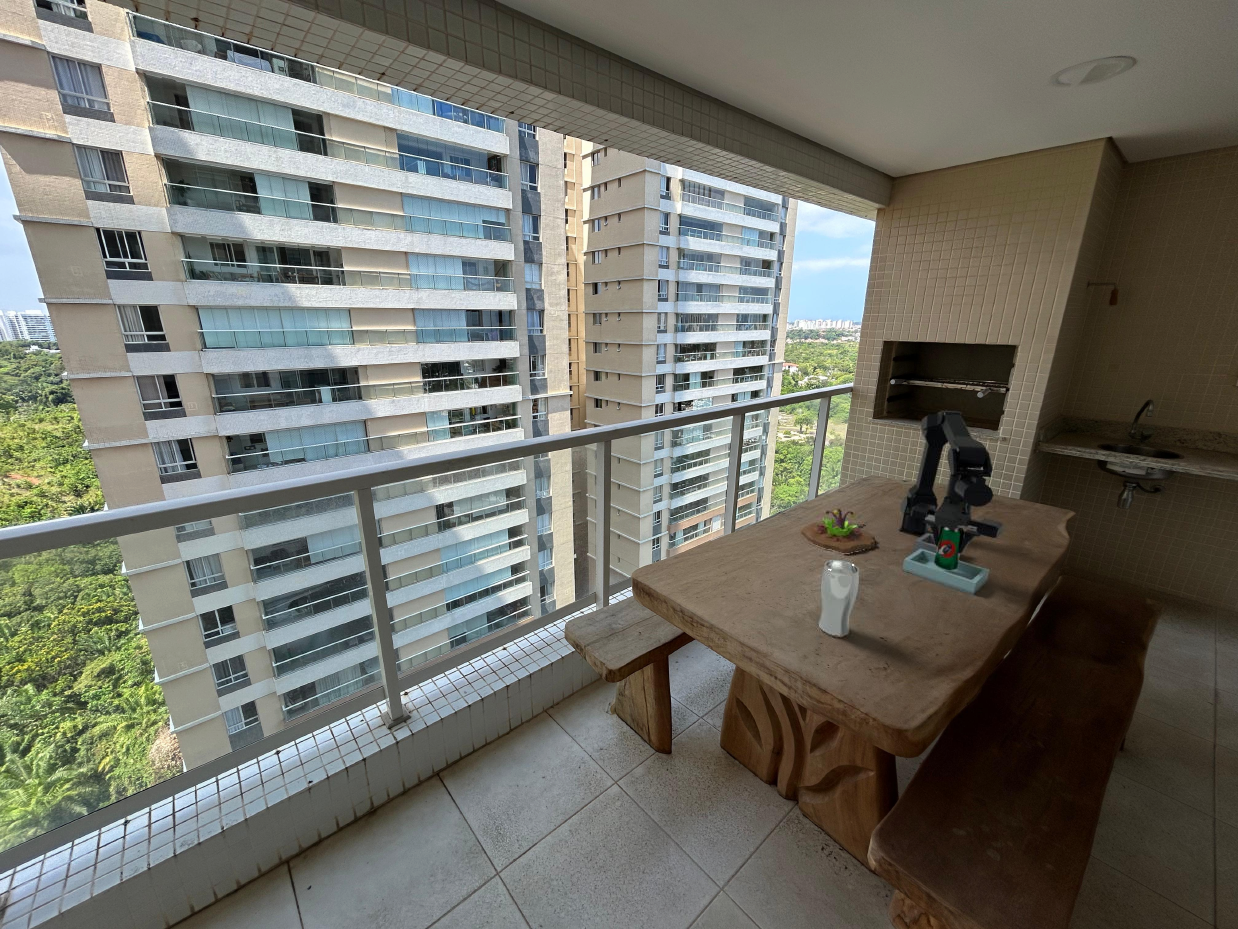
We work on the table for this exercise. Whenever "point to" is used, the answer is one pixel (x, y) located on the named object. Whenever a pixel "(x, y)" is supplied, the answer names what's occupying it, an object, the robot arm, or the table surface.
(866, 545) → the plant
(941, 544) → the soda can
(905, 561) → the trough
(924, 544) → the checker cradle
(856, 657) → the table surface
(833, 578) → the beer glass
